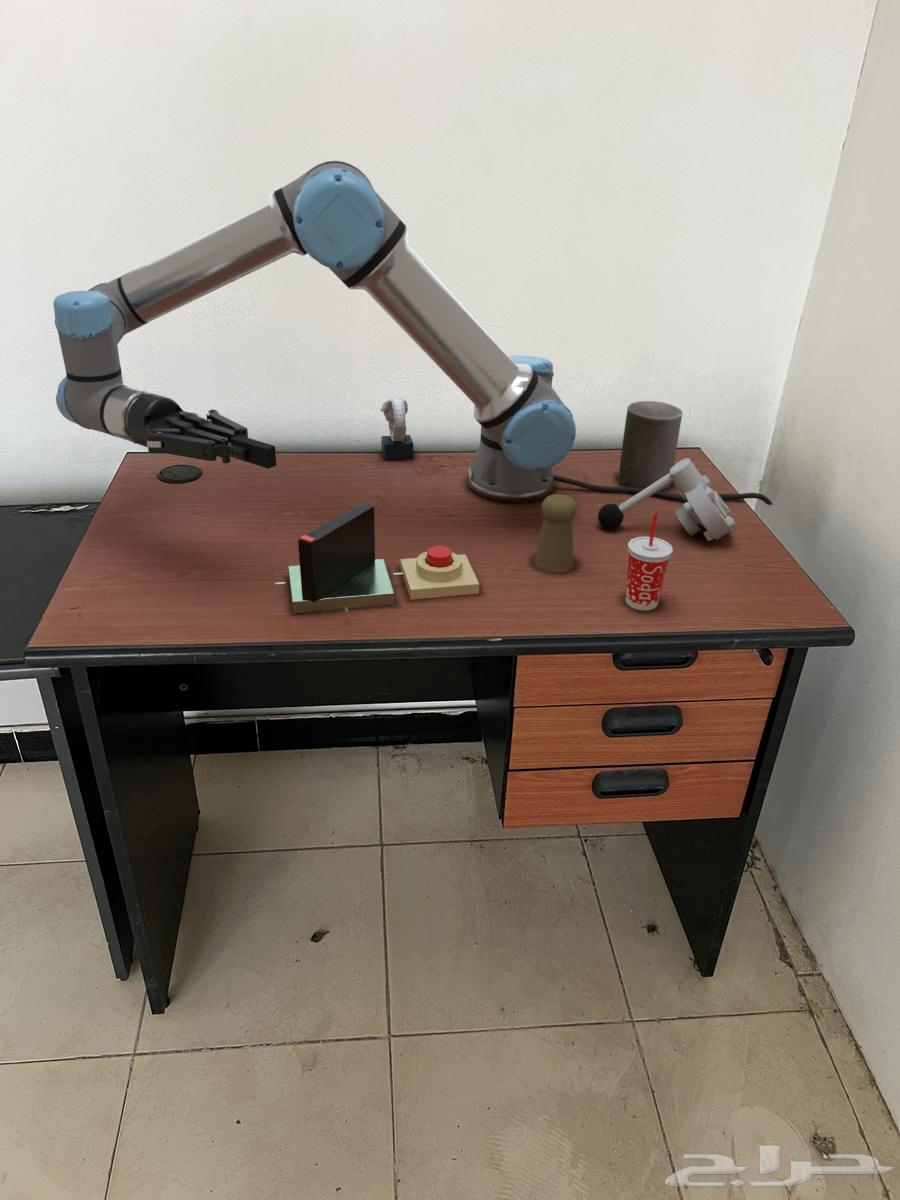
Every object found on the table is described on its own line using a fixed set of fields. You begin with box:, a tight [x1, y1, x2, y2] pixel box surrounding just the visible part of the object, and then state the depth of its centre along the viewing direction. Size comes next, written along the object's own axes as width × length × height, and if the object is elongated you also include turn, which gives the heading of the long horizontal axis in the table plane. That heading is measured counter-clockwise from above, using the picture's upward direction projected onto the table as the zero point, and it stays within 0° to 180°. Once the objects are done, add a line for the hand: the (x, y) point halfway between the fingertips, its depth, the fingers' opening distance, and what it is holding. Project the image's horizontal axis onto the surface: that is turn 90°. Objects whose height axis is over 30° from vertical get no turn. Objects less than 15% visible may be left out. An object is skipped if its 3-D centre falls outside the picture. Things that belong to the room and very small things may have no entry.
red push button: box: [426, 545, 453, 568], centre depth 129 cm, size 4×4×2 cm
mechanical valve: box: [597, 457, 737, 542], centre depth 146 cm, size 10×18×15 cm
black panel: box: [297, 502, 376, 602], centre depth 125 cm, size 14×2×9 cm, turn 148°
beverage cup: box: [624, 512, 674, 611], centre depth 124 cm, size 6×6×14 cm
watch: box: [379, 396, 414, 461], centre depth 169 cm, size 6×8×11 cm
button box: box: [399, 551, 480, 600], centre depth 131 cm, size 10×9×4 cm
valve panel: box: [274, 558, 403, 615], centre depth 128 cm, size 18×18×2 cm
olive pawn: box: [533, 493, 578, 574], centre depth 134 cm, size 6×6×11 cm
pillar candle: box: [617, 400, 684, 492], centre depth 161 cm, size 10×10×15 cm
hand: (271, 457), depth 117 cm, fingers closed
